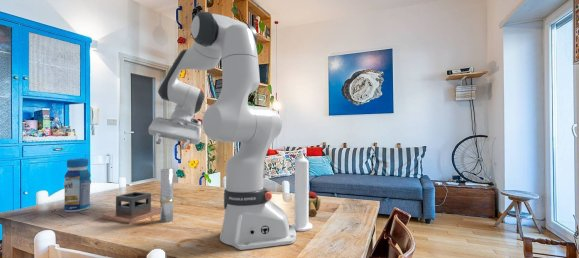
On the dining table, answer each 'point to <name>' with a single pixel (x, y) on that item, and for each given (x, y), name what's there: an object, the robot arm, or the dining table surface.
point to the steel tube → (166, 195)
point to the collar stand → (132, 208)
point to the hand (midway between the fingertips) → (170, 145)
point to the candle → (301, 194)
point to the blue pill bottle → (77, 185)
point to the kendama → (313, 203)
